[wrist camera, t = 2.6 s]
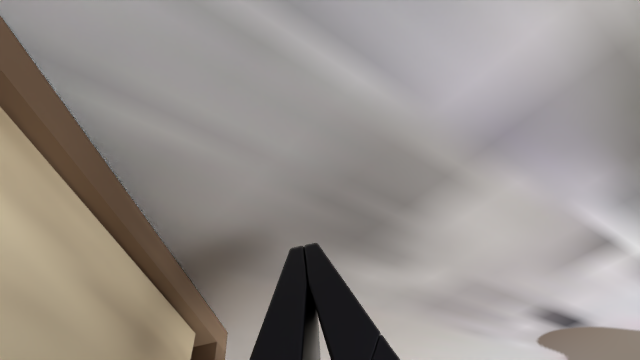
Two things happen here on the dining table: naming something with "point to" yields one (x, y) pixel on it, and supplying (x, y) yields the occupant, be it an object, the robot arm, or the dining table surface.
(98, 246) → the cream slab
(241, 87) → the dining table surface
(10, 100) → the crate bay
